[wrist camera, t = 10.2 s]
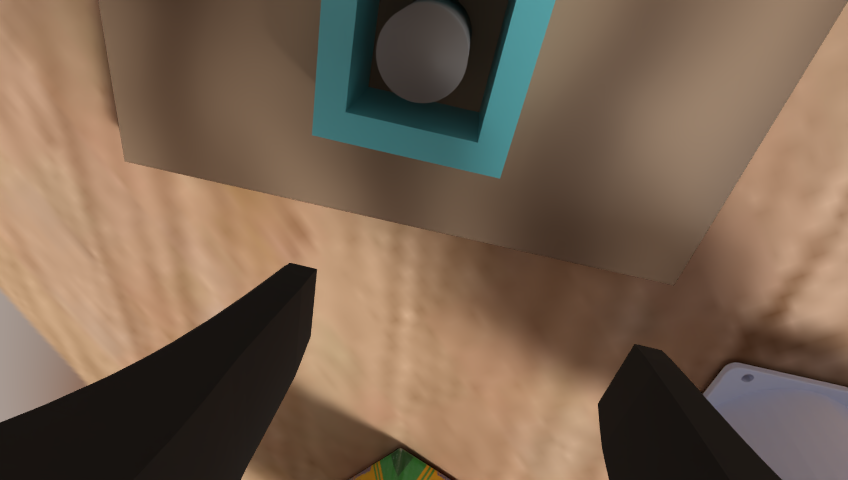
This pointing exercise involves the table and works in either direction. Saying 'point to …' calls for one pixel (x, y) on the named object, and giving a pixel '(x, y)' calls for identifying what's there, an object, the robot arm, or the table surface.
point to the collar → (423, 122)
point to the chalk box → (399, 469)
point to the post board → (464, 88)
